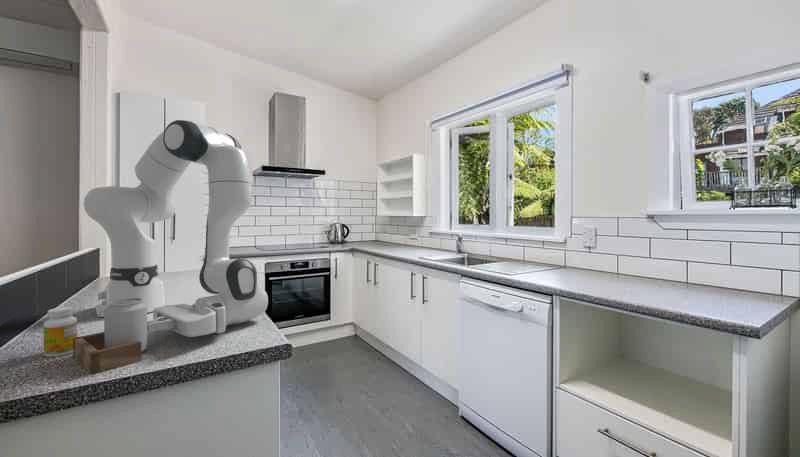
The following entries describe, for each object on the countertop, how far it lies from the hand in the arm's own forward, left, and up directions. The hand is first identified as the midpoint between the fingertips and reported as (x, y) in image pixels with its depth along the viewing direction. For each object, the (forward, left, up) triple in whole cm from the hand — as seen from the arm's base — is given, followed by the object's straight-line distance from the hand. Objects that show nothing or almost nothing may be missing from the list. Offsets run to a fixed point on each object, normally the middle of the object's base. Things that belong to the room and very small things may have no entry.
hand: (145, 326), depth 80 cm
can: (0, -4, -5) cm, 6 cm away
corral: (0, -7, -5) cm, 9 cm away
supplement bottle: (-12, -12, -5) cm, 18 cm away
